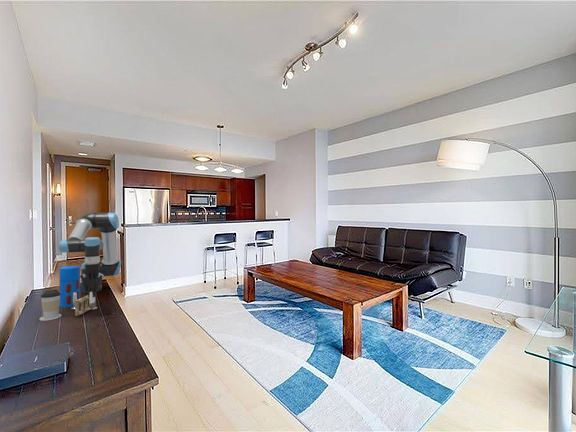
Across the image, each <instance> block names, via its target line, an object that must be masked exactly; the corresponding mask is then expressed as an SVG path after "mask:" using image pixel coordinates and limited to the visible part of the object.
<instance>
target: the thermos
mask: <svg viewBox="0 0 576 432" xmlns="http://www.w3.org/2000/svg"><path fill="white" fill-rule="evenodd" d="M58 275H59V278H58V279H59V289H58V291H59V292H60V294H61V295H60V306H59V308H71V307H73V293H75V292H77V300H78V299H80V298H81V293H80V284H81V277H80V276H81V267H80V266H79V265H70V266H63V267H59V273H58ZM79 305H81V302H79Z"/></svg>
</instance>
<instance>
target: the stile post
mask: <svg viewBox="0 0 576 432" xmlns="http://www.w3.org/2000/svg"><path fill="white" fill-rule="evenodd" d="M76 300H77V292H75V293H73V306H72V307H70V309H71V310H75V301H76Z"/></svg>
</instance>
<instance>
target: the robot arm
mask: <svg viewBox="0 0 576 432" xmlns="http://www.w3.org/2000/svg"><path fill="white" fill-rule="evenodd" d="M74 224H75V226H74V228H73V230H72V232H71V233H70V234H69V236H68V238H67V239H64V240H63V239H62V240H60V241H59V243H58V244H59V245H58V249H59V250H58V251H59V252H60V253H62V254H63V253H64V254H65V253H66V254H68V253H84V262H83V263H81V267H80V294H87V295H88V297H90V303H94V302H95V303H96V297H97V292H100V291H102V290H103V286H102V282H103V278H104V277H114V276H119V275H120V274H121V273H120V272H121V266H122V260H119V257H118V256H117V248H116V247H117V245H116V244H117V243H116V233H115V232H116V231H117V229H119V228H120V222H119V217H118V214H117V213H116V212H90V213H86V214H83V215H82V216H80V217H79V218H78V219H77V220H76V222H75V223H74ZM91 229H98V231H99V233H100V234H101V238H100V237H95V236H92V237H91V236H89V237H85V236H86V235H87V234H88V233H87V232H88V231H90V230H91ZM101 250H102V253H103V254H102V256H103V257H102V259H100V258H101Z"/></svg>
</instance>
